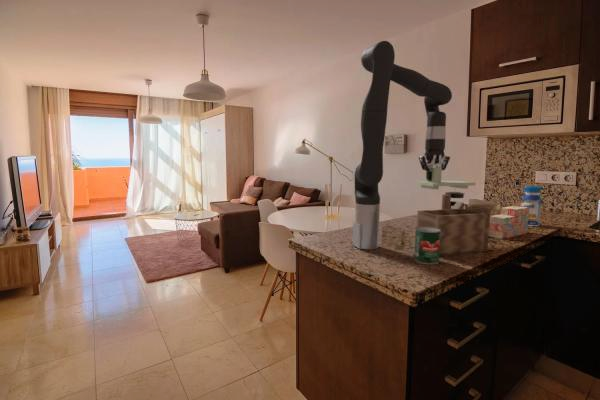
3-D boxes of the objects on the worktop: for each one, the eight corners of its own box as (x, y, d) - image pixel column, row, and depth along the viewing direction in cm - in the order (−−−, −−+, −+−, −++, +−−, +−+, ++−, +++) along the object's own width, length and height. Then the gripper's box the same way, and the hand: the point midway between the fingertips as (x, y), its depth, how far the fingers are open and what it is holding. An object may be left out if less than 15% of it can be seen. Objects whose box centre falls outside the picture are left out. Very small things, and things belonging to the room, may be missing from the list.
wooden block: (461, 232, 151) (464, 194, 149) (444, 234, 147) (446, 195, 145) (455, 230, 155) (457, 193, 152) (438, 232, 151) (440, 194, 148)
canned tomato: (425, 256, 116) (426, 225, 114) (444, 262, 109) (446, 230, 107) (408, 259, 112) (410, 227, 111) (427, 265, 105) (429, 232, 104)
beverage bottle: (543, 226, 164) (547, 186, 162) (530, 227, 162) (534, 187, 160) (528, 223, 172) (531, 185, 170) (515, 223, 170) (518, 185, 168)
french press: (437, 225, 167) (440, 180, 164) (447, 223, 173) (450, 179, 170) (460, 229, 158) (463, 182, 155) (470, 226, 164) (473, 181, 160)
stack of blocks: (502, 239, 139) (505, 211, 137) (487, 236, 144) (489, 209, 143) (527, 233, 150) (529, 207, 148) (512, 230, 155) (514, 205, 154)
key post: (478, 251, 122) (481, 209, 120) (463, 245, 129) (465, 206, 127) (487, 250, 123) (490, 209, 121) (471, 244, 130) (474, 206, 128)
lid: (432, 189, 128) (433, 168, 127) (414, 187, 140) (415, 167, 139) (474, 188, 133) (476, 167, 132) (454, 186, 145) (455, 166, 144)
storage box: (435, 256, 115) (438, 216, 113) (415, 247, 126) (417, 210, 124) (482, 252, 120) (485, 213, 118) (459, 244, 131) (461, 208, 129)
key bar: (493, 209, 118) (493, 203, 118) (468, 205, 130) (469, 199, 130) (499, 209, 119) (500, 203, 119) (474, 204, 131) (475, 199, 130)
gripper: (426, 137, 127) (423, 181, 129) (456, 138, 131) (453, 181, 133) (414, 138, 134) (412, 180, 137) (444, 139, 138) (441, 179, 140)
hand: (433, 180), depth 135 cm, fingers closed on lid, 3 cm apart
